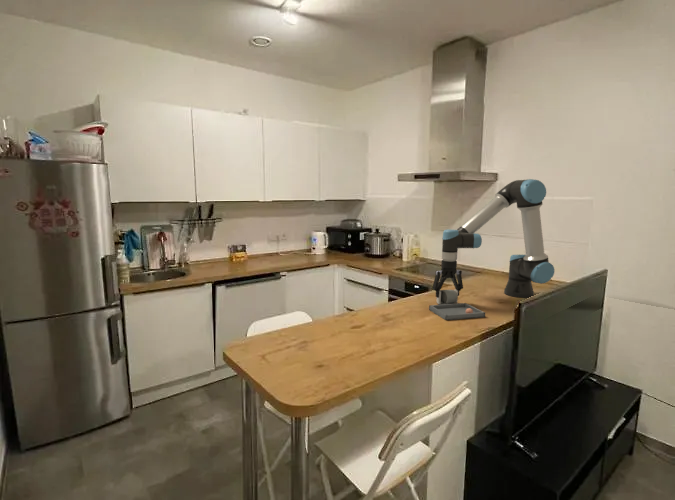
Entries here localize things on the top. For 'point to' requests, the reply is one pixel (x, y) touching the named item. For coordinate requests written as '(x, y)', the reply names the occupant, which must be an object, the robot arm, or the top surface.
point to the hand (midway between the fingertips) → (447, 302)
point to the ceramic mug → (448, 296)
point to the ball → (469, 310)
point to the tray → (456, 311)
